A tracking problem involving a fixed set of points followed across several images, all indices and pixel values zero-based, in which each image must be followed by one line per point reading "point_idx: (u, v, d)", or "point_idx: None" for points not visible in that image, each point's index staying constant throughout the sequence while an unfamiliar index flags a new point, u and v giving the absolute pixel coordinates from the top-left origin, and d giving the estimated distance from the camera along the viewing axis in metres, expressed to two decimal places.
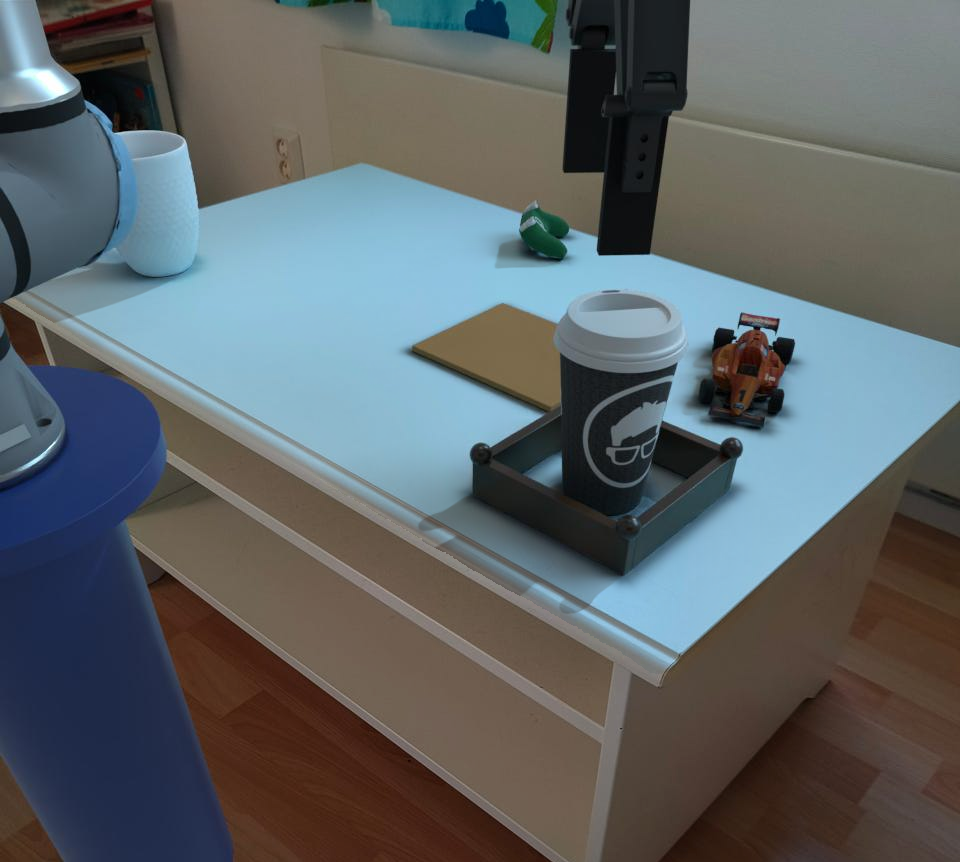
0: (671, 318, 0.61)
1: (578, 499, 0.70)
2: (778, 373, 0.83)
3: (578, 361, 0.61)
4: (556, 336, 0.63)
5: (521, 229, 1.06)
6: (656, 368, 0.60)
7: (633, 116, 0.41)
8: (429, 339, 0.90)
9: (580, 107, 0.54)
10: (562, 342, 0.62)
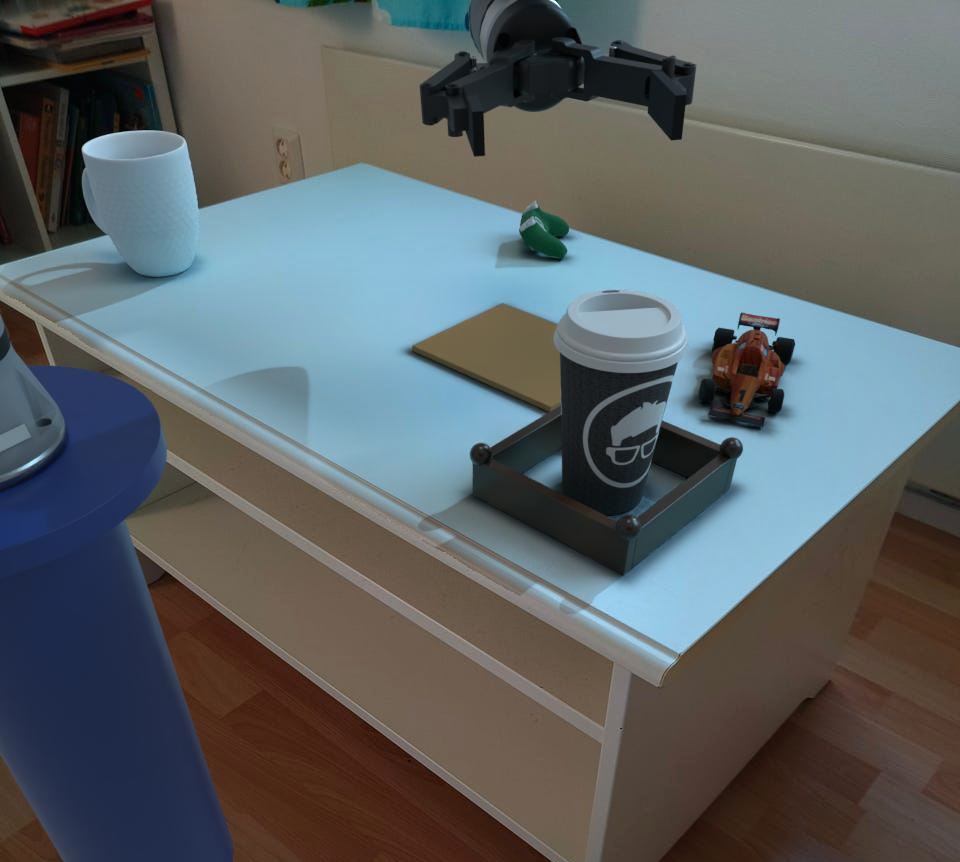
0: (671, 318, 0.61)
1: (578, 499, 0.70)
2: (778, 373, 0.83)
3: (578, 361, 0.61)
4: (556, 336, 0.63)
5: (521, 229, 1.06)
6: (656, 368, 0.60)
7: (677, 78, 0.64)
8: (429, 339, 0.90)
9: None
10: (562, 342, 0.62)
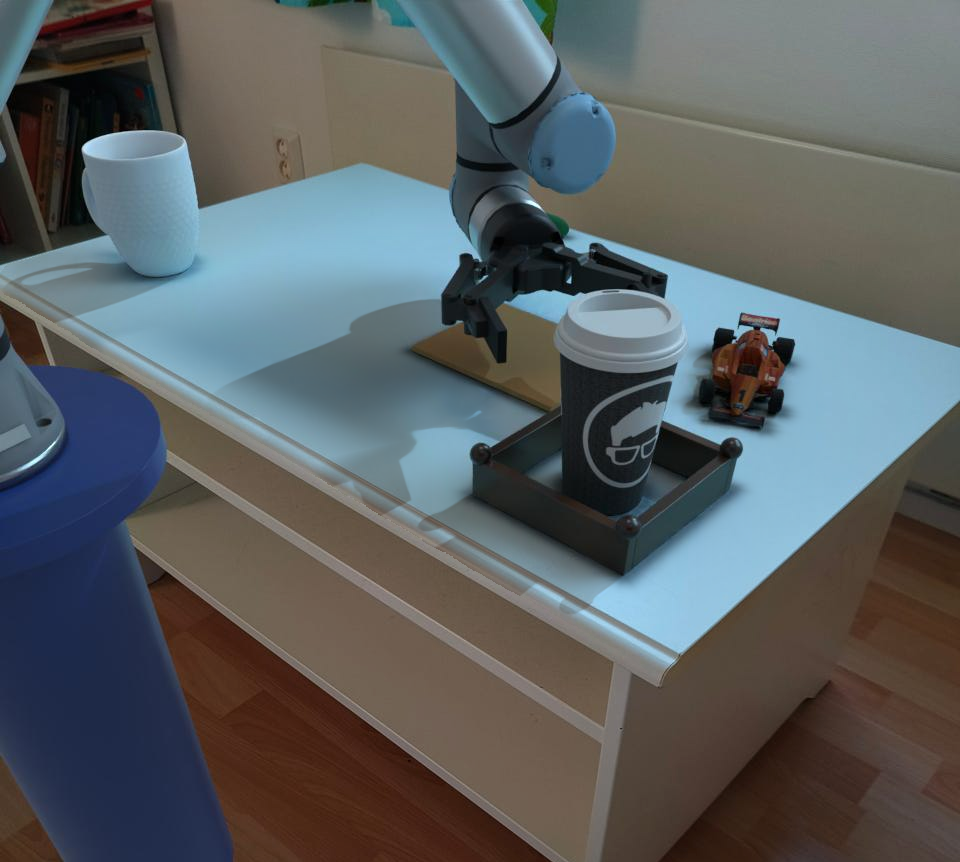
0: (671, 318, 0.61)
1: (578, 499, 0.70)
2: (778, 373, 0.83)
3: (578, 361, 0.61)
4: (556, 336, 0.63)
5: None
6: (656, 368, 0.60)
7: (654, 287, 0.77)
8: (429, 339, 0.90)
9: None
10: (562, 342, 0.62)
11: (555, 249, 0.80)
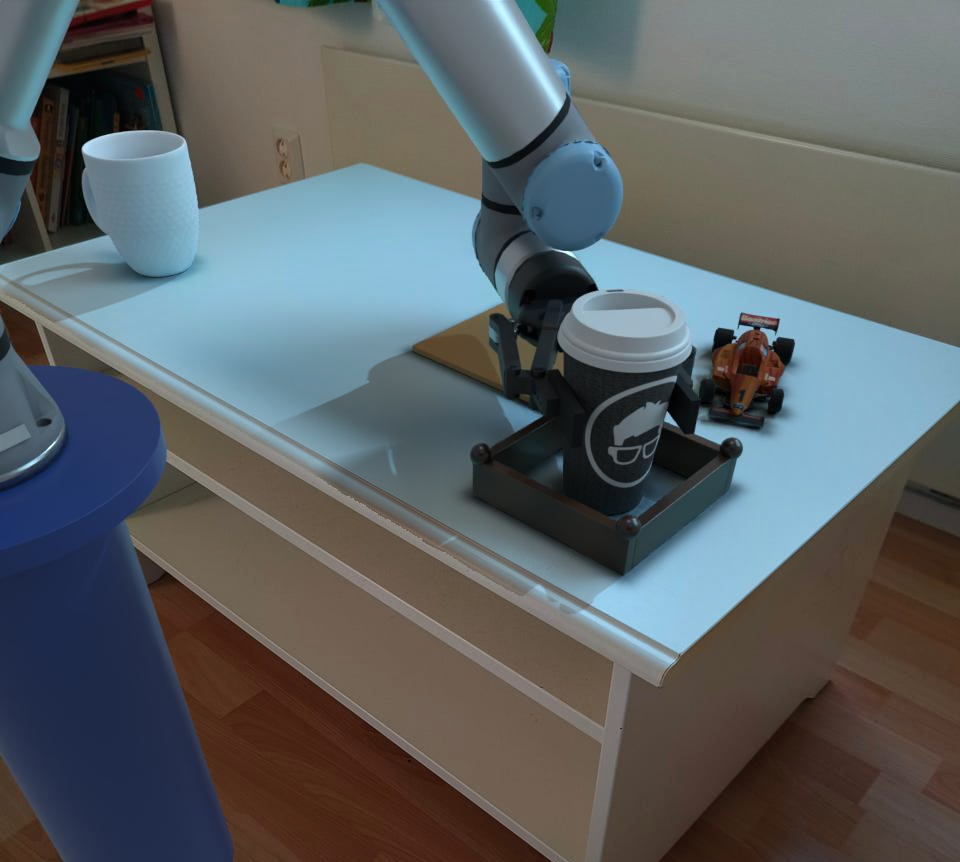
0: (675, 318, 0.61)
1: (579, 498, 0.70)
2: (778, 373, 0.83)
3: (582, 360, 0.61)
4: (560, 334, 0.62)
5: None
6: (660, 368, 0.60)
7: None
8: (429, 339, 0.90)
9: None
10: (566, 340, 0.61)
11: None
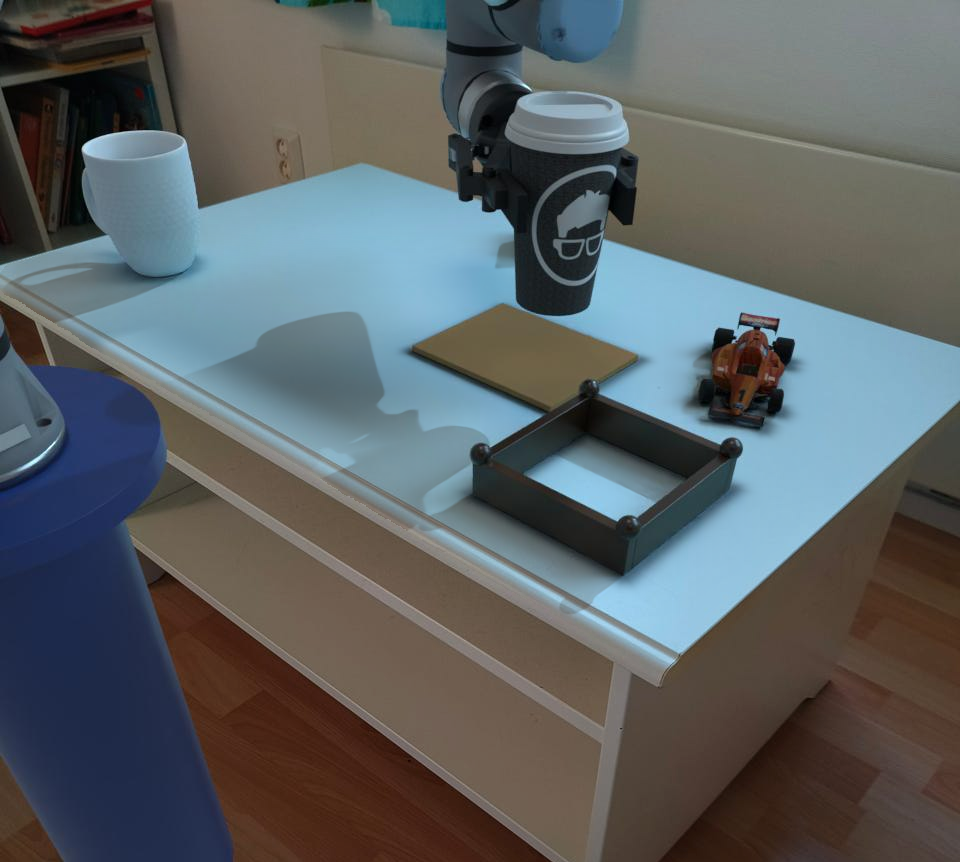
0: (612, 108, 0.66)
1: (529, 300, 0.75)
2: (778, 373, 0.83)
3: (525, 145, 0.65)
4: (507, 127, 0.67)
5: None
6: (597, 151, 0.65)
7: (623, 169, 0.73)
8: (429, 339, 0.90)
9: None
10: (511, 130, 0.66)
11: None
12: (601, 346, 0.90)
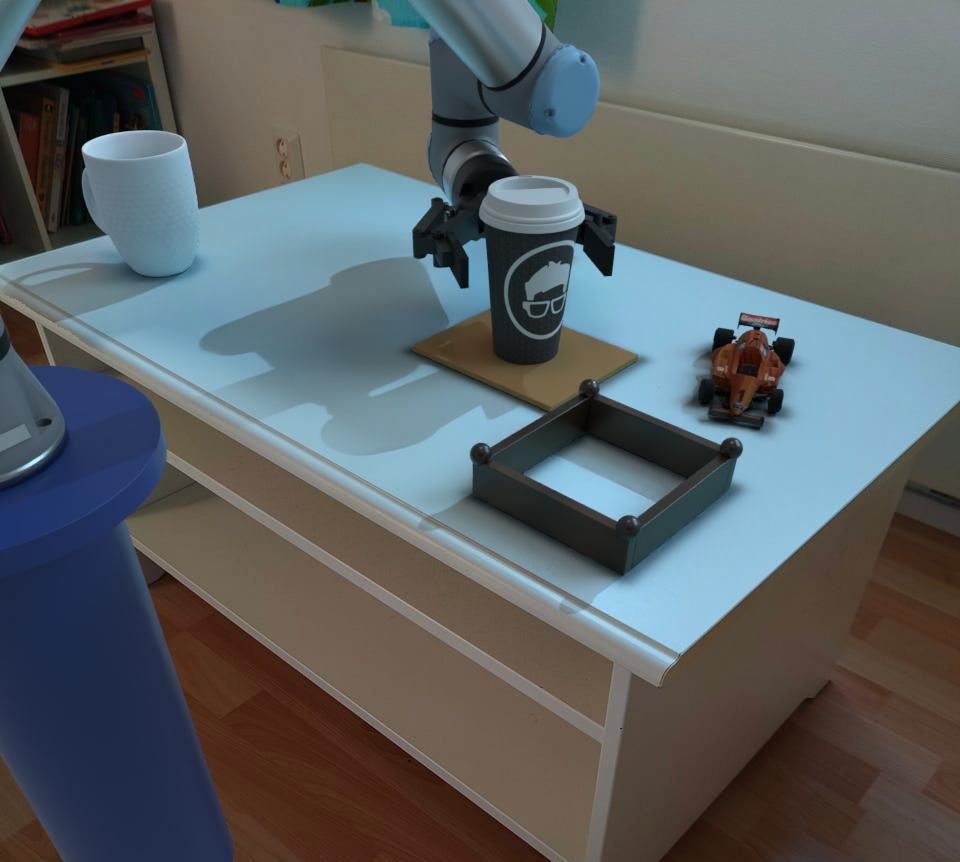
0: (569, 193, 0.78)
1: (504, 351, 0.86)
2: (778, 373, 0.83)
3: (495, 226, 0.77)
4: (480, 209, 0.79)
5: None
6: (556, 230, 0.77)
7: (604, 226, 0.86)
8: (429, 339, 0.90)
9: None
10: (484, 212, 0.78)
11: None
12: (601, 346, 0.90)
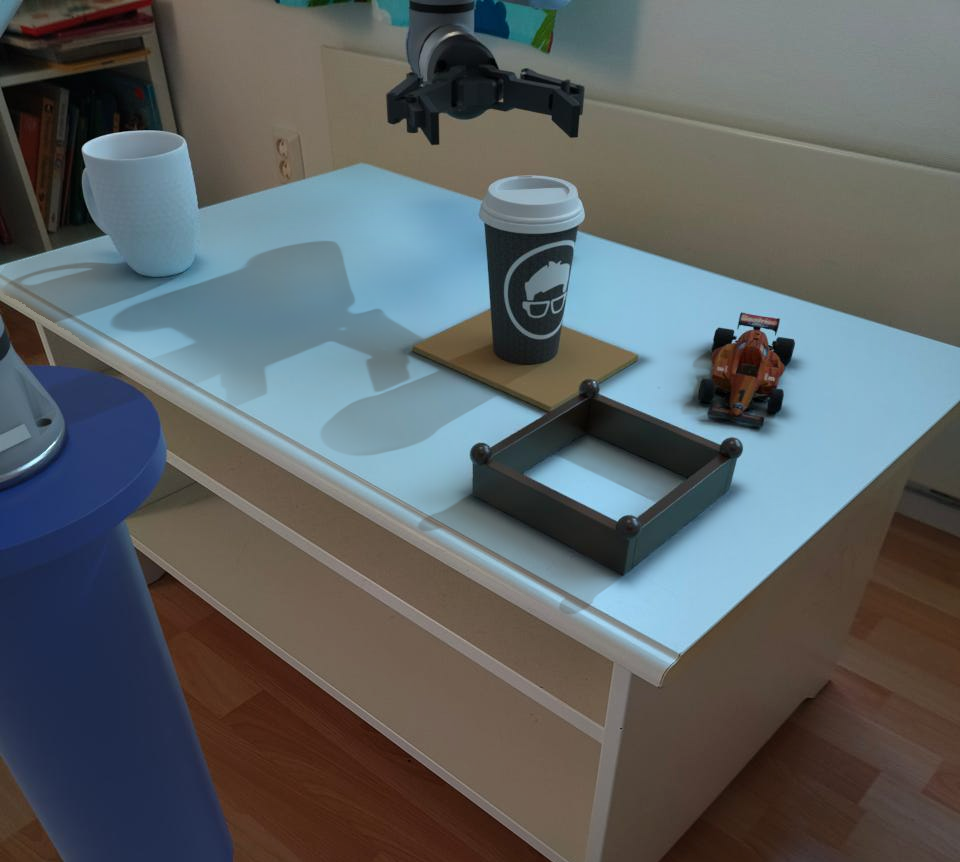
0: (569, 193, 0.78)
1: (504, 351, 0.86)
2: (778, 373, 0.83)
3: (495, 226, 0.77)
4: (480, 209, 0.79)
5: None
6: (556, 230, 0.77)
7: (572, 95, 0.89)
8: (429, 339, 0.90)
9: None
10: (484, 212, 0.78)
11: (489, 68, 0.92)
12: (601, 346, 0.90)
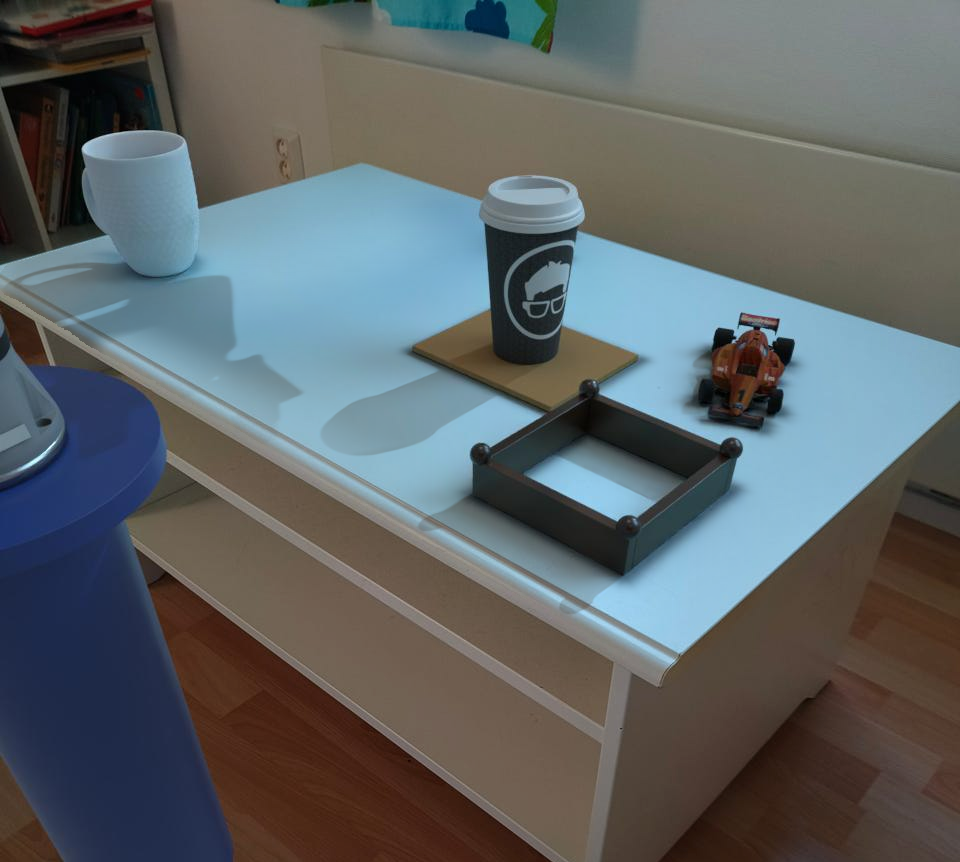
0: (569, 193, 0.78)
1: (504, 351, 0.86)
2: (777, 373, 0.83)
3: (495, 226, 0.77)
4: (480, 209, 0.79)
5: None
6: (556, 230, 0.77)
7: None
8: (429, 339, 0.90)
9: None
10: (484, 212, 0.78)
11: None
12: (601, 346, 0.90)
